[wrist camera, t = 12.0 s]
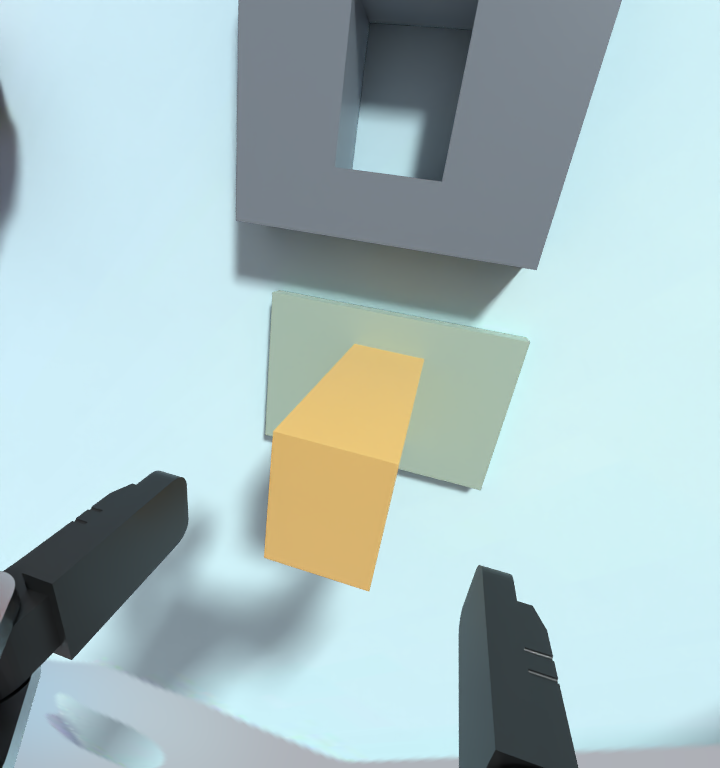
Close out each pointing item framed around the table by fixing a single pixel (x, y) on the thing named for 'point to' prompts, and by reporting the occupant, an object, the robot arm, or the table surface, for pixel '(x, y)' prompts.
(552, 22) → the graphite dock
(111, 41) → the table surface
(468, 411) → the sage mat
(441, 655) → the table surface
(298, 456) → the amber plug
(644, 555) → the table surface
